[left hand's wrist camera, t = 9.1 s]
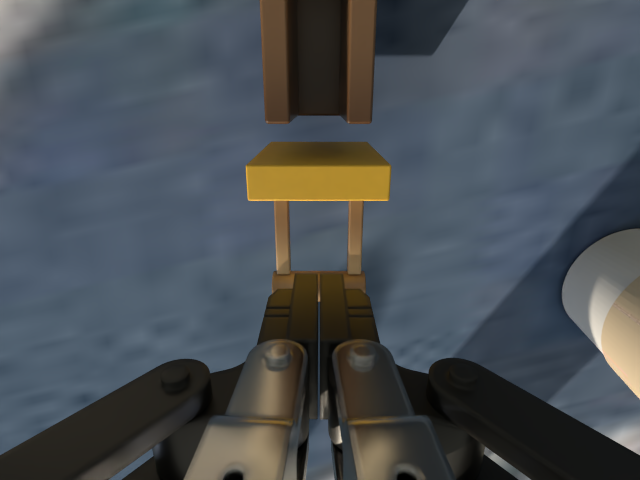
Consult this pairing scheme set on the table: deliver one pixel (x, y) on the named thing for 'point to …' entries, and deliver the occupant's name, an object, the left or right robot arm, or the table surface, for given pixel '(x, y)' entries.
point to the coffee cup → (609, 301)
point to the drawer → (318, 100)
